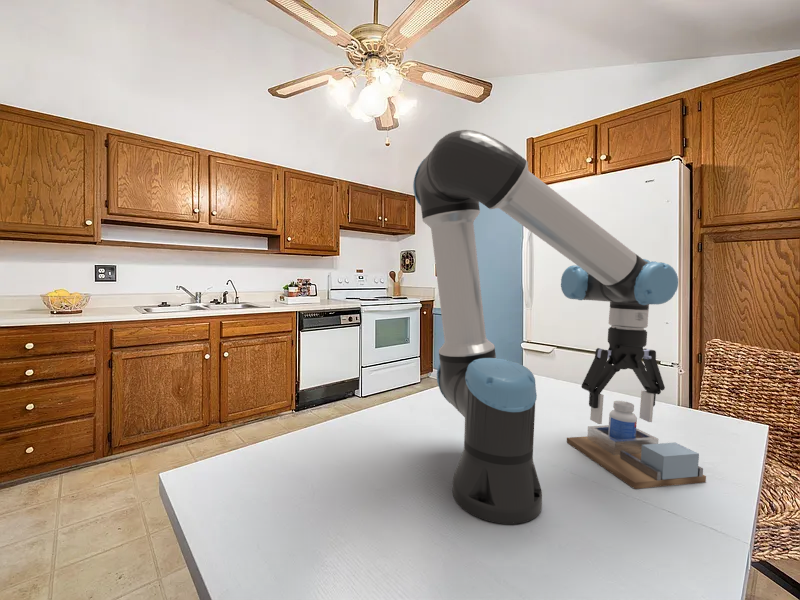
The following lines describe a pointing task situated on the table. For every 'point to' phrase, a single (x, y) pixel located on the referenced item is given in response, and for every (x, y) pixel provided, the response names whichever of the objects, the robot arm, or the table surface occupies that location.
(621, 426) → the pill bottle
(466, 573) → the table surface
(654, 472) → the rails
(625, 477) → the board
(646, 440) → the socket
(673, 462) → the block
